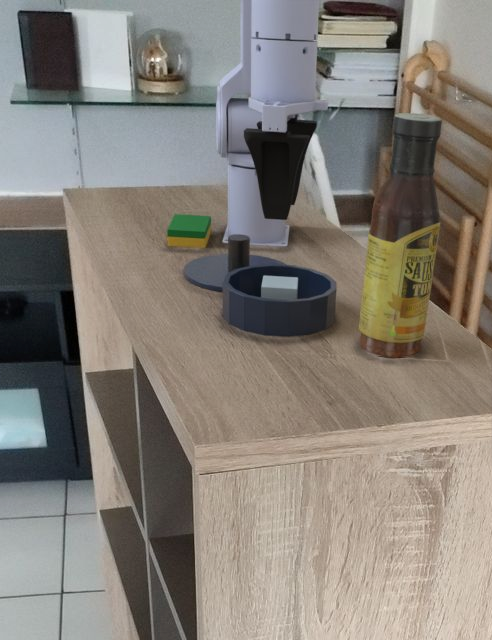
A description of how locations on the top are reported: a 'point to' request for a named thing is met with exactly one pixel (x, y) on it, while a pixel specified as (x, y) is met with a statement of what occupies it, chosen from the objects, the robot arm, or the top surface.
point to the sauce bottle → (402, 242)
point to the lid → (224, 263)
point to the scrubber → (189, 231)
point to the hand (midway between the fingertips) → (280, 211)
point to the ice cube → (279, 287)
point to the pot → (279, 301)
